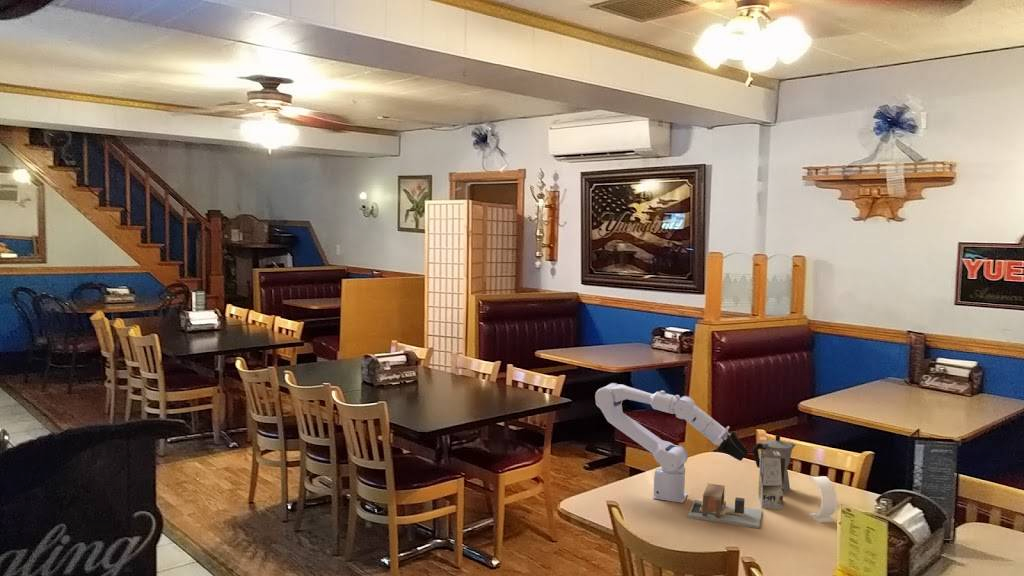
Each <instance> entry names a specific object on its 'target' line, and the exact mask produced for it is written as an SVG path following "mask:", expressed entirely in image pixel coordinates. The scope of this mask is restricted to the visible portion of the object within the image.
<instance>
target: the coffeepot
mask: <svg viewBox="0 0 1024 576" xmlns="http://www.w3.org/2000/svg"><path fill="white" fill-rule="evenodd" d="M774 436H775V439H768V440H764V441H762V442H759V443H756V444H755V445H754V446H753V447H752V453H753V456H754V460H755V465H756V468H758V469H759V468H760V452H759V450H760V449H766V450H767V449H771V450H781V452H782V454H783V455H784V457H785V471H784V489H783V494H788V493H789V492H790V491H791V485H790V478H789V477H790V476H789V472H788V467H789V464H790V460H791V455H792V452H793V449H794V448H795V447H796V446H797V444H796V443H793V442H788V441H783V440H781V435H778V434H776V435H774Z"/></svg>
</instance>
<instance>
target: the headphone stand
mask: <svg viewBox="0 0 1024 576" xmlns="http://www.w3.org/2000/svg"><path fill="white" fill-rule="evenodd" d="M811 481H813V483H815V485H816V486H817V488H818V491H819V494H820V498H821V502H820V509H819V510H818V512H813V513H812V512H811V513H809V517H810V518H812V519H813V520H814V521H817V522H818V523H820V524H821V523H833V522H835V519H834V518H833V517H832V516H833V515H834V514H835V512H836V510H837V505H838V496H837V492H836V489H835V487H834V486H835V485H834V484H833V483H832V481H831V480H830V478H829V477H828V476H826V475H825V476H824V475H823V476H822V475H820V476H812V477H811Z"/></svg>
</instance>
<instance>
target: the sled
mask: <svg viewBox="0 0 1024 576" xmlns="http://www.w3.org/2000/svg"><path fill="white" fill-rule="evenodd" d="M701 501H702V504H701V508H700V512H702V511H703V500H701ZM745 502H746V499H745V498H744V497H736V496H735V499H734V506H735V509H728V508H727V506H726V505H727V501H725V500H724V502H723V505H721V511H720V515H725V513H728V514H735V515H741V516H744V507H745ZM707 513H713V514H716V511H715V510H708V509H707Z"/></svg>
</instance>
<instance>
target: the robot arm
mask: <svg viewBox="0 0 1024 576" xmlns="http://www.w3.org/2000/svg"><path fill="white" fill-rule="evenodd" d="M680 396H681V395H679V394H675V395H674V394H670V393H666V391H665V390H660V391H655V393H651V392H647V391H644V390H642V389H639V388H638V389H637V388H635V387H631V386H628V385H625V384H620V383H619V384H618V383H616V382H611V383H609V384H607V385H606V386H603V387H600V388H599V389H597V390H596V392H595V395H594V398H595V399H594V400H595V405H596V406H597V408H599V409H600V411H601V413H602V414H603V416H604V418H605V419H606V422H608V423H609V424H611V425H612V426H613V427H614V428H616V429H617V430H618V431H620V432H621V433H623V434H625V435H626V436H627V437H629V439H631V440H633V441H634V442H635V443H637V444H638V445H640V446H642V448H643V449H645V450H647V451H648V452H650V453H651V454H652V455H653V458H654V461H656V463H658V464H659V465H660V467H655V470H654V476H653V496H652V498H653V499H655V500H662V501H669V502H675V503H680V504H681V503H685V499H686V498H687V496H688V493H687V492H685V487H686V485H685V484H686V468H685V465H684V464H686V462H687V461H688V452H687V450H686V448H684V447H683V446H680V445H676V444H674V443H672V442H670V441H667V440H663V439H661V437H659V436H657V435H656V434H654V433H653V432H651V431H650V430H649V429H647V428H646V427H644V426H643V425H641V424H640V423H639V422H638V421H636V420H634V419H633V418H632V417H630V416H628V415H627V414H626V413H624V412H623V405H622V403H623V401H625V400H629V401H634V402H638V403H643V404H646V405H647V404H648V405H650V406H651V407H652V409H653V410H655V411H656V410H657V411H660V412H664V413H668V414H672V415H673V414H674V415H675V418H678V419H679V420H685V421H686V422H687V423H688V424H690V425H691V426H692V427H693V428H694V429H696V430H697V431H698V432H700V433H701V434H702V435H703V436H704V437H706V439H708V440H709V441H711V442H712V443H713V445H714V446H718V447H717V449H716V451H717V452H719V453H724V454H726V455H728V456H730V457H731V458H734V459H736V460H738V461H740V462H741V461H743V459H744V458H746V456H747V455H748V453H749V450H748V448H747V447H746V446H745V445H744V444H743V443H742V442H741V440H740V438H739V437H738V435H737V432H735V431H732V433H729V429H730V426H729V425H728V426H726V427H724V426H723V425H721V424H720V423H719V422H718V421H716V420H715V419H714V418H713V417H711V416H710V415H709V414H707V412H705V411H704V410H703V409H701V408H700V407H699V406H698V405H696V402H695V400H694V399H693V398H692V397H689V396H688V395H684V396H681V397H680Z"/></svg>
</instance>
